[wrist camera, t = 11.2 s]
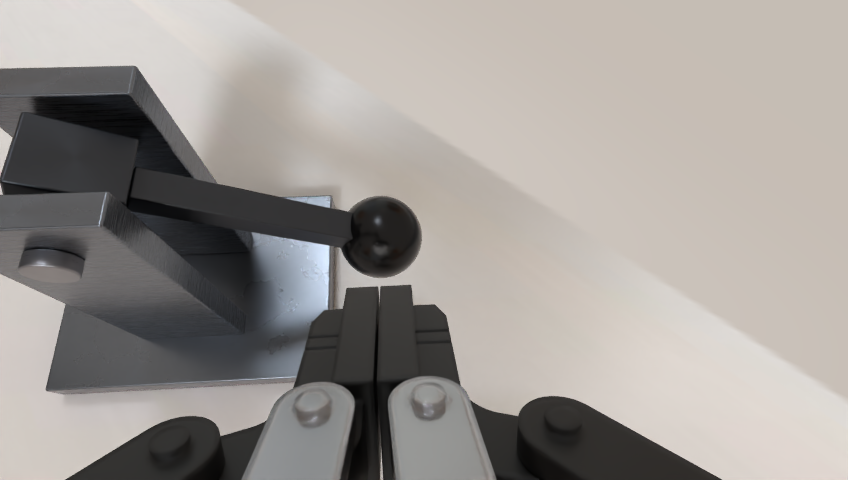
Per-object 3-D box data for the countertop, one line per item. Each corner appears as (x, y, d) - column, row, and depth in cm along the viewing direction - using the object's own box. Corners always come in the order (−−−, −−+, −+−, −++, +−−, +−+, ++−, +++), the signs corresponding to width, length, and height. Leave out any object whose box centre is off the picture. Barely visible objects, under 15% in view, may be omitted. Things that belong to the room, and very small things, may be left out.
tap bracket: (335, 206, 27) (278, 9, 15) (332, 380, 23) (255, 299, 11) (102, 214, 26) (-145, 16, 14) (63, 394, 23) (-309, 325, 11)
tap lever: (395, 223, 22) (434, 191, 20) (397, 292, 21) (440, 268, 19) (32, 146, 16) (24, 85, 13) (3, 240, 14) (-10, 191, 12)
